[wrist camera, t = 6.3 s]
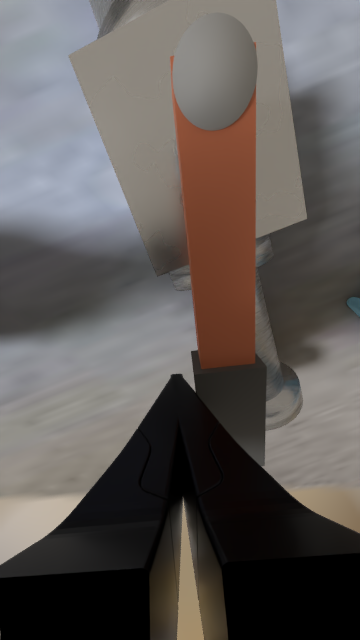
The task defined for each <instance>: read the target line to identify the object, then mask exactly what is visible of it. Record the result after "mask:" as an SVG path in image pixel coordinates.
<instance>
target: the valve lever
mask: <svg viewBox="0 0 360 640" xmlns="http://www.w3.org/2000/svg"><path fill="white" fill-rule="evenodd" d="M170 66H171V88H172V102H173V112H174V129H175V148H176V152H177V155H178V161H179V170H180V180H181V190H182V199H183V209H184V219H185V229H186V238H187V248H188V258H189V267H190V277H191V287H192V296H193V306H194V316H195V326H196V335H197V345H198V350H197V351H191V355H192V363H193V372H194V380H195V389H196V394H197V395H198V396H199V398H200V399H201V400H202V401H203V402H204V404H205V405H206V406H207V407H208V408H209V410H210V411H211V412H212V413H213V415H214V416H215V417H216V418H217V419H218V421H219V423H221V424H222V425H223V427H224V428H225V429H226V430H227V432H228V433H229V434H230V435H231V436H232V437H233V438H234V440H235V441H236V442H237V443H238V444H239V445H240V446H241V447H242V448H243V449H244V450H245V451H246V452H247V453H248V454H249V455H250V456H251V457H252V458H253V459H254V460H255V461H256V462H257V463H258V464H259V465H260V466H264V464H265V424H266V385H267V366H266V365H265V364H264V363H263V361H262V360H261V359H260V358H259V356H258V355H257V354H256V352H255V279H256V81H257V72H258V62H257V54H256V42H253V40H252V38H251V36H250V34H249V32H248V30H247V29H246V28H245V26H244V25H243V24H242V23H241V22H240V21H239V20H237V19H236V18H235V17H233V16H231V15H228V14H225V13H219V12H217V13H210V14H206V15H204V16H202V17H200V18H198V19H197V20H195V21H194V22H193V23H192V24H191V25H190V26H189V27H188V28H187V30H186V31H185V32H184V34H183V36H182V37H181V39H180V41H179V43H178V46H177V49H176V52H175V56H170Z"/></svg>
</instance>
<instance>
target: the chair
mask: <svg viewBox="0 0 360 640" xmlns="http://www.w3.org/2000/svg"><path fill="white" fill-rule="evenodd" d="M347 305H348V306H349V307H350V308H351V309H352V310H353V311H354V312H355V313H356V314H357V315H358V316H359V317H360V298H357V297H351V298H349V299H348V300H347Z"/></svg>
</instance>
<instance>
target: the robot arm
mask: <svg viewBox="0 0 360 640" xmlns="http://www.w3.org/2000/svg"><path fill="white" fill-rule="evenodd" d="M183 500H184V506H185V512H186V520H187V527H188V532H189V540H190V547H191V553H192V560H193V567H194V573H195V580H196V586H197V594H198V600H199V607H200V614H201V621H202V628H203V634H204V640H360V533H358V532H356V531H353V530H351V529H349V528H347V527H345V526H343V525H340V524H338V523H336V522H334V521H331V520H330V519H327V518H325V517H323V516H321V515H319V514H317V513H315V512H313V511H311V510H310V509H308V508H307V507H305V506H304V505H302V504H301V503H300V502H299V501H297V500H296V499H295V498H294V497H292V496H291V495H290V494H289V493H288V492H287V491H286V490H285V489H284V488H283V487H282V486H281V485H280V484H279V483H278V482H277V481H276V480H275V479H274V478H273V477H272V476H271V475H269V474H268V473H267V472H266V471H265V470H264V469H263V468H262V467H261V466H260V465H259V464H258V463H257V462H256V461H255V460H254V459H253V458H252V457H251V456H250V455H249V454H248V453H247V452H246V451H245V450H244V449H243V448H242V447H241V446H240V445H239V444H238V443H237V442H236V441H235V440H234V438H233V437H232V436H231V435H230V434H229V433H228V432H227V430H226V429H225V428H224V427H223V425H222V424H221V423H219V421H218V419H217V418H216V417H215V416H214V415H213V413H212V412H211V411H210V410H209V408H208V407H207V406H206V405H205V404H204V402H203V401H202V400H201V399H200V398H199V396H198V395H197V394H196V393H195V391H194V390H193V389H192V388H191V387H190V385H189V384H188V383H187V382H186V380H185V379H184V378H183V375H182V374H172V375H171V378H170V380H169V381H168V383H167V384H166V386H165V387H164V389H163V390H162V392H161V393H160V395H159V396H158V398H157V399H156V401H155V402H154V404H153V406H152V407H151V409H150V410H149V412H148V413H147V415H146V416H145V418H144V419H143V421H142V422H141V424H140V425H139V427H138V429H137V430H136V431H135V433H134V434H133V436H132V437H131V439H130V440H129V442H128V443H127V444H126V446H125V447H124V449H123V450H122V451H121V453H120V454H119V455H118V456H117V458H116V459H115V460H114V461H113V463H112V464H111V465H110V466H109V468H108V469H107V470H106V471H105V473H104V474H103V475H102V476H101V477H100V479H99V480H98V481H97V482H96V483H95V485H94V486H93V487H92V488H91V490H90V491H89V492H88V493H87V494H86V496H85V497H84V498H83V499H82V500H81V502H80V503H79V504H78V505H77V507H76V508H75V509H74V510H73V511H72V512H71V514H70V515H69V516H68V517H67V518H66V519H65V520H64V521H63V522H62V523H61V524H60V525H59V526H58V527H56V528H55V529H54V530H53V531H52V532H50V533H49V534H48V535H47V536H45V537H44V538H43V539H41V540H39V541H38V542H36V543H34V544H33V545H31V546H30V547H28V548H27V549H25V550H23V551H22V552H20V553H19V554H17V555H16V556H14V557H12V558H11V559H9V560H8V561H6V562H4V563H3V564H1V565H0V634H1V635H0V640H177V623H178V598H179V575H180V554H181V530H182V508H183Z"/></svg>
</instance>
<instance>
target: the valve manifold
mask: <svg viewBox="0 0 360 640" xmlns="http://www.w3.org/2000/svg"><path fill="white" fill-rule="evenodd" d="M89 2H90V5H91V8H92V10H93V13H94V16H95V19H96V22H97V25H98V27H99V30H100V31H99V34H98V38H97V40H96V41H94V42H92V43H90V44H88V45H87V46H85V47H83V48H81V49H79V50H78V51H76V52H74V53H72V54H70V55H68V56H69V58H70V61H71V63H72V66H73V68H74V71H75V73H76V76H77V78H78V81H79V83H80V86H81V88H82V91H83V93H84V96H85V98H86V101H87V103H88V106H89V108H90V111H91V113H92V116H93V118H94V121H95V123H96V126H97V128H98V131H99V133H100V136H101V138H102V140H103V143H104V145H105V148H106V150H107V153H108V155H109V158H110V160H111V163H112V165H113V168H114V170H115V173H116V175H117V178H118V180H119V183H120V185H121V188H122V190H123V193H124V195H125V198H126V200H127V203H128V205H129V208H130V210H131V213H132V215H133V218H134V220H135V223H136V225H137V228H138V230H139V233H140V235H141V237H142V240H143V242H144V245H145V247H146V250H147V252H148V255H149V257H150V260H151V262H152V265H153V267H154V270H155V272H156V275H157V276H160V275H163V274H165V273H168V272H169V274H170V276H171V279H172V282H173V284H174V287H175V290H177V291H185V290H192V287H191V277H190V267H189V258H188V248H187V238H186V229H185V219H184V209H183V199H182V190H181V180H180V170H179V161H178V155H177V152H176V148H175V129H174V112H173V102H172V88H171V66H170V56H175V52H176V49H177V46H178V43H179V41H180V39H181V37H182V36H183V34H184V32H185V31H186V30H187V28H188V27H189V26H190V25H191V24H192V23H193V22H194V21H195V20H197V19H198V18H200V17H202V16H204V15H206V14H210V13H217V12H219V13H225V14H228V15H231V16H233V17H235V18H236V19H237V20H239V21H240V22H241V23H242V24H243V25H244V26H245V28H246V29H247V30H248V32H249V34H250V36H251V38H252V40H253V42H256V54H257V62H258V72H257V81H256V279H255V352H256V354H257V355H258V356H259V358H260V359H261V360H262V361H263V363H264V364H265V365H266V366H267V385H266V424H265V430H272V429H276V428H279V427H282V426H284V425H286V424H288V423H289V422H291V421H292V420H293V419H294V418H295V417H296V416H297V415H298V414H299V412H300V410H301V408H302V404H303V398H302V392H301V387H300V382H299V379H298V376H297V375H296V373H295V372H294V371H293V370H292V369H291V368H290V367H289V366H287V365H285V364H283V363H281V362H279V359H278V354H277V350H276V346H275V342H274V337H273V333H272V329H271V325H270V321H269V316H268V312H267V308H266V304H265V299H264V295H263V291H262V287H261V282H260V278H259V274H258V270H257V267H259V266H261V265H263V264H265V263H266V262H268V261H269V260H271V259H272V258H273V251H272V246H271V241H270V236H269V233H272V232H274V231H277V230H279V229H282V228H285V227H287V226H290V225H292V224H295V223H298V222H300V221H303V220H305V219H307V214H306V207H305V200H304V193H303V186H302V179H301V172H300V165H299V158H298V151H297V144H296V137H295V130H294V123H293V116H292V109H291V102H290V96H289V89H288V82H287V75H286V68H285V61H284V54H283V47H282V40H281V33H280V26H279V19H278V12H277V5H276V0H89Z"/></svg>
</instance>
